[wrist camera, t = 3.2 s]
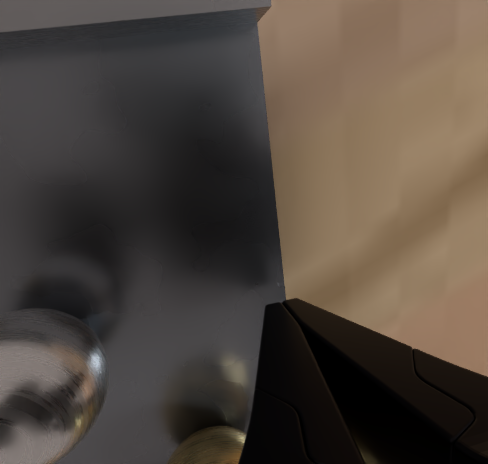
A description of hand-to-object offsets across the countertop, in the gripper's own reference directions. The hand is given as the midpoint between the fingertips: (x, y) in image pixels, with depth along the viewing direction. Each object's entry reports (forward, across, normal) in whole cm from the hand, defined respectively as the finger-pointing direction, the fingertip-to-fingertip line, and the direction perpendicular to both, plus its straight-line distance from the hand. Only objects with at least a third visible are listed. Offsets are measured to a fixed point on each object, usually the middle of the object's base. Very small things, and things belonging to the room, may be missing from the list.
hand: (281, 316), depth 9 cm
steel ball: (0, +6, 0) cm, 6 cm away
